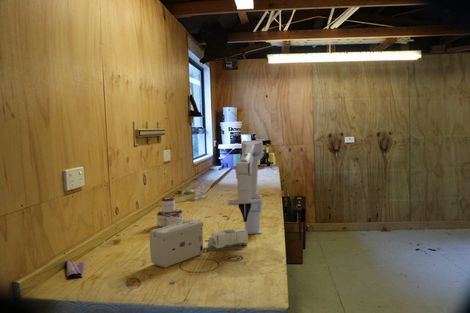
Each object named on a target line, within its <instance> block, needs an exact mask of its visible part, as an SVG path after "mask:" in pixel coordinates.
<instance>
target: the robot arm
mask: <svg viewBox="0 0 470 313" xmlns="http://www.w3.org/2000/svg"><path fill="white" fill-rule="evenodd" d="M241 152H242V154H241V156H240V157H239V161H238V162H237V163H235V168H234V169H235V176H236V178H235V179H236V180H237V182H236V184H237V186H236V187H237V198H236V199H229V200H227V206H238V208H239V211H240V213H241V216H242V219H243V223H244V227H243V229H245V230H247V231H248V235H254V234H255V235H256V234H262V230H261V213H262V212H263V210H264V208H263V206H264V205H263V204H264V203H263V197H262V195H261V194H259V193H258V171H259V169H258V168H259V162H260V160H261V159H263V156H264V143H263V141H262V140H261V139H260V140H242V142H241Z"/></svg>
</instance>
